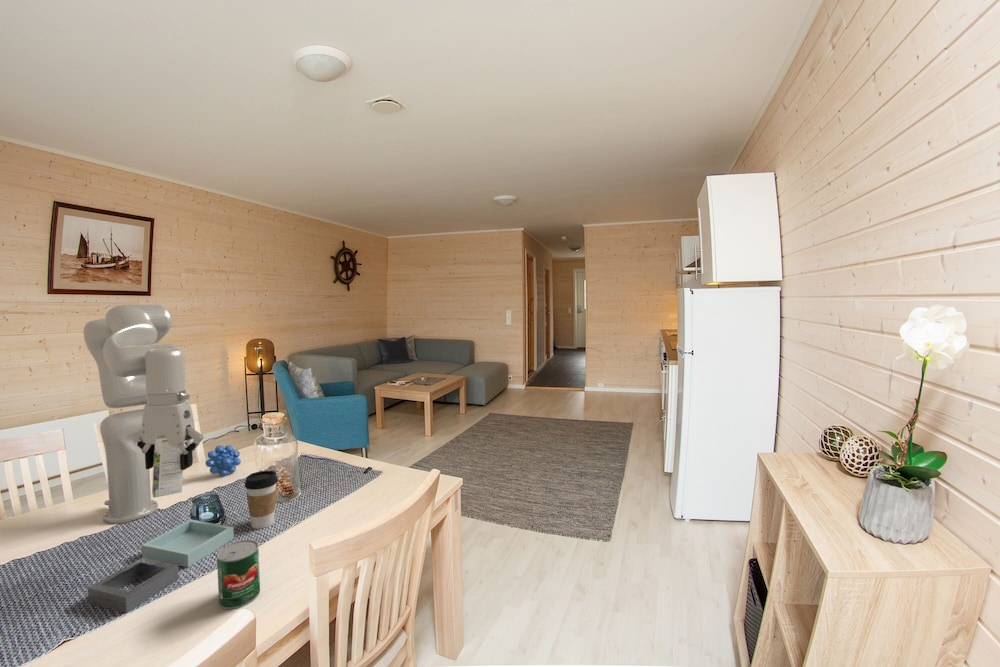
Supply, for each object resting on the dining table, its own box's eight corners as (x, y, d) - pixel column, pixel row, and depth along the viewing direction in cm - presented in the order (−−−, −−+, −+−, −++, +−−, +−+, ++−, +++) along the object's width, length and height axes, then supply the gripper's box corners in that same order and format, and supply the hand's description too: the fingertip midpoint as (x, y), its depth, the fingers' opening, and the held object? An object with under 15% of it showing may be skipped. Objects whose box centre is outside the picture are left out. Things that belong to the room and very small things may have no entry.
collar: (88, 603, 90) (87, 587, 90) (143, 571, 101) (142, 557, 101) (126, 613, 88) (125, 597, 87) (178, 579, 98) (177, 565, 98)
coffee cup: (264, 533, 118) (262, 481, 117) (239, 529, 120) (237, 478, 118) (285, 517, 126) (284, 470, 125) (261, 514, 128) (259, 467, 127)
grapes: (211, 484, 148) (210, 451, 147) (203, 479, 152) (202, 447, 151) (246, 473, 158) (245, 442, 157) (237, 469, 161) (236, 439, 160)
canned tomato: (244, 580, 98) (243, 536, 97) (268, 590, 95) (266, 544, 94) (210, 603, 91) (208, 555, 90) (234, 614, 88) (232, 564, 87)
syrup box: (151, 490, 104) (153, 432, 103) (181, 485, 108) (183, 429, 107) (152, 498, 100) (154, 438, 99) (183, 492, 104) (185, 434, 103)
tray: (142, 557, 106) (141, 545, 106) (191, 530, 119) (190, 519, 119) (188, 567, 103) (187, 554, 102) (233, 538, 115) (233, 527, 115)
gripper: (212, 395, 106) (214, 462, 108) (143, 393, 106) (146, 460, 107) (191, 403, 99) (194, 474, 100) (116, 401, 98) (120, 473, 100)
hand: (169, 467), depth 104 cm, fingers closed on syrup box, 7 cm apart
